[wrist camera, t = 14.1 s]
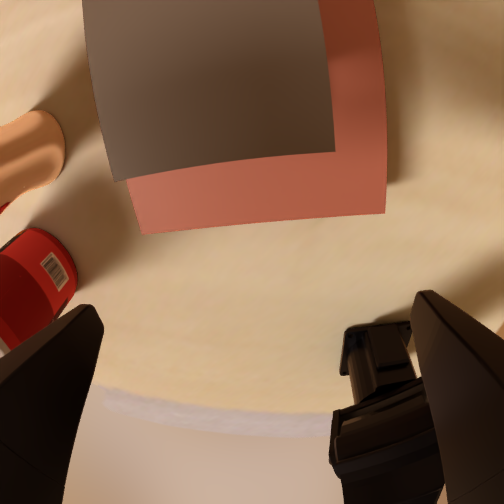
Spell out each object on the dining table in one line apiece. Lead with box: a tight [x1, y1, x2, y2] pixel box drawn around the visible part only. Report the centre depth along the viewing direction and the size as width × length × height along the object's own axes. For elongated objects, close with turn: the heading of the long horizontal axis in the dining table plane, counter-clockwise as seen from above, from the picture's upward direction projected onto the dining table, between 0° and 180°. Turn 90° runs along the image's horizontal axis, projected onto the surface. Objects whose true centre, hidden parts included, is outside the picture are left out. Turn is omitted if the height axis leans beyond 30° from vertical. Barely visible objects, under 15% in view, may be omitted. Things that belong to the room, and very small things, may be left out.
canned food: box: [0, 228, 78, 358], centre depth 18 cm, size 8×8×11 cm
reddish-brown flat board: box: [126, 0, 387, 235], centre depth 13 cm, size 18×14×3 cm
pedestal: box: [82, 0, 336, 182], centre depth 8 cm, size 7×5×8 cm
